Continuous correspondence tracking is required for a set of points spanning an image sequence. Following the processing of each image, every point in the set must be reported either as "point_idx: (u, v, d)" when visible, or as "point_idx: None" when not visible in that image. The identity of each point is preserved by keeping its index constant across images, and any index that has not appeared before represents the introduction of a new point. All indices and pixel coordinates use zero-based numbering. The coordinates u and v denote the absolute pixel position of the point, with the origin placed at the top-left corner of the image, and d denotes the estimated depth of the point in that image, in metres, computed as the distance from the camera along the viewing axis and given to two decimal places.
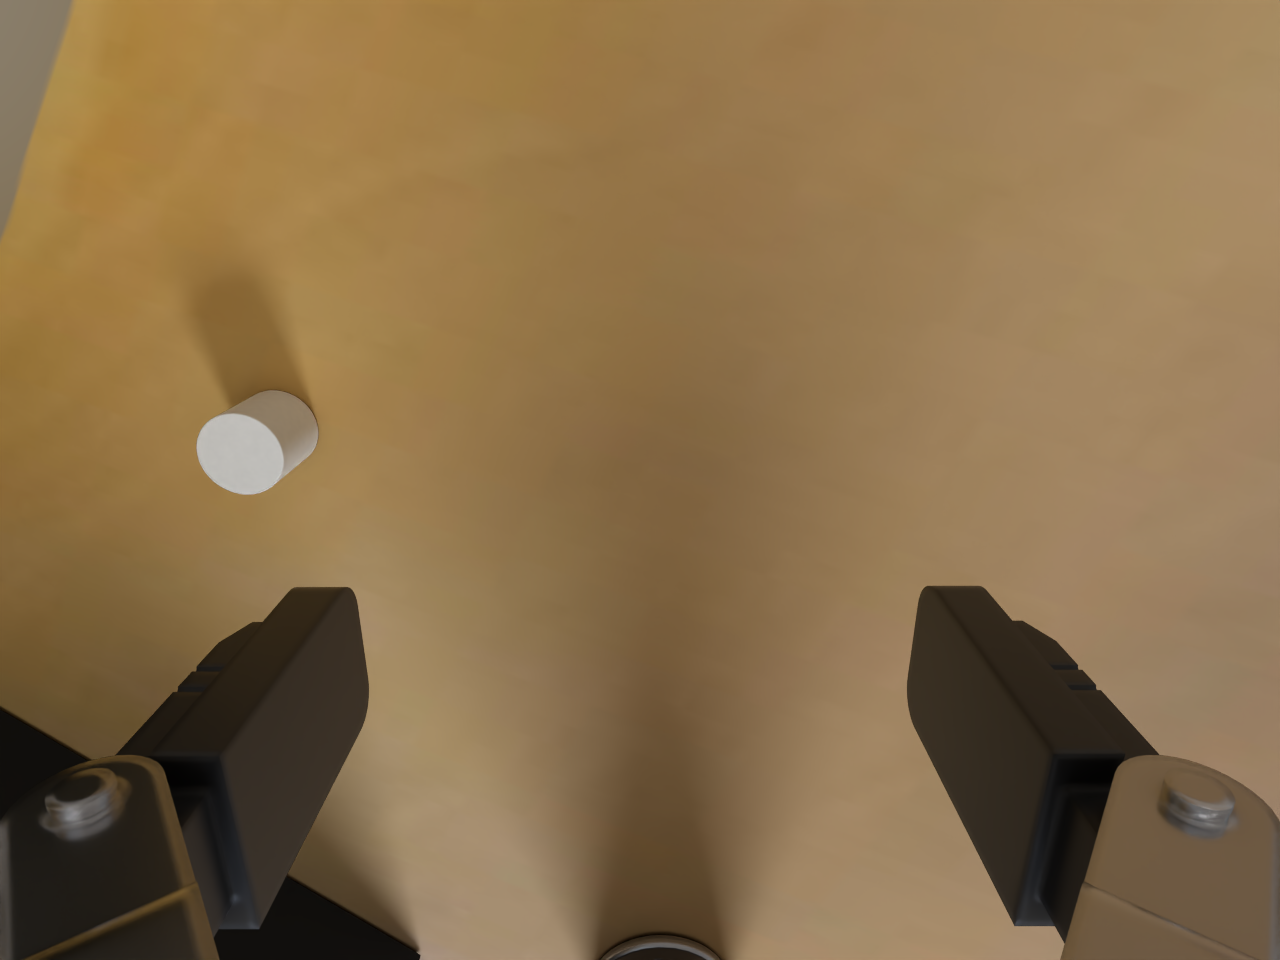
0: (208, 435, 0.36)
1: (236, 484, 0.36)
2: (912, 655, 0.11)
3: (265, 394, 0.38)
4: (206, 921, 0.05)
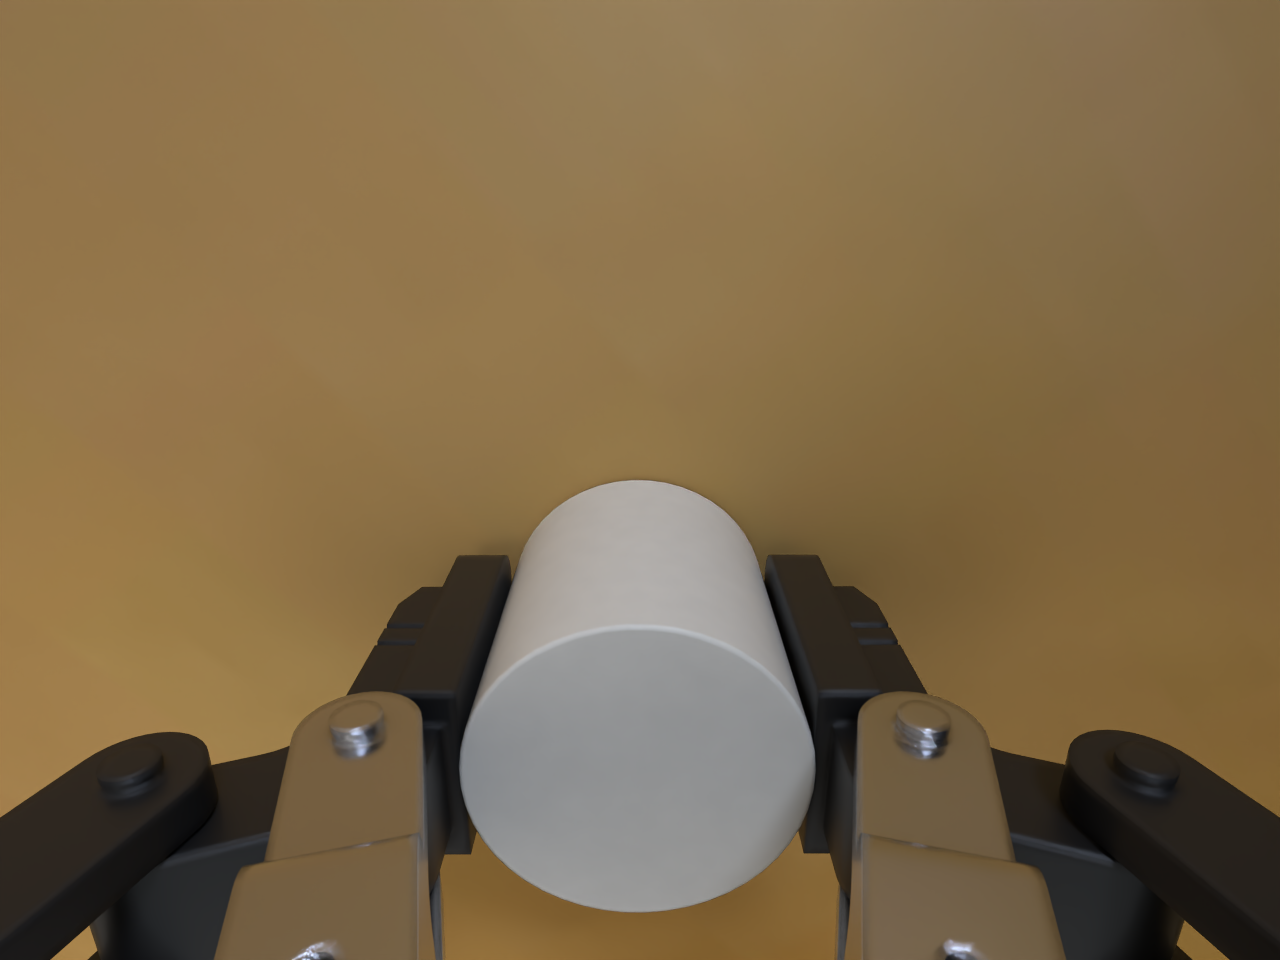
0: (698, 878, 0.09)
1: (733, 697, 0.08)
2: None
3: None
4: (415, 876, 0.05)
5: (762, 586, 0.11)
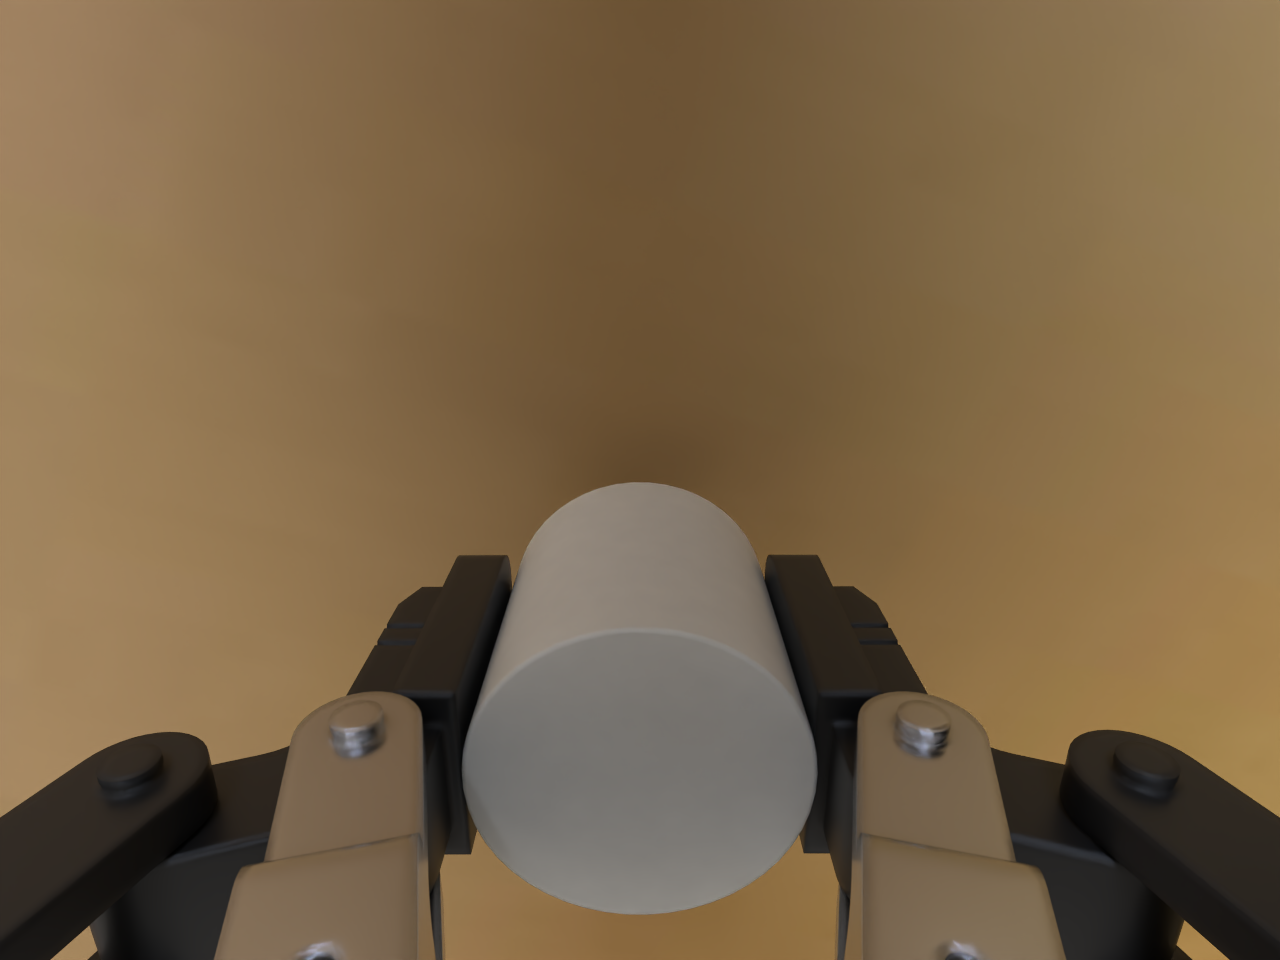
0: (700, 880, 0.09)
1: (735, 700, 0.08)
2: None
3: None
4: (415, 876, 0.05)
5: (764, 588, 0.11)
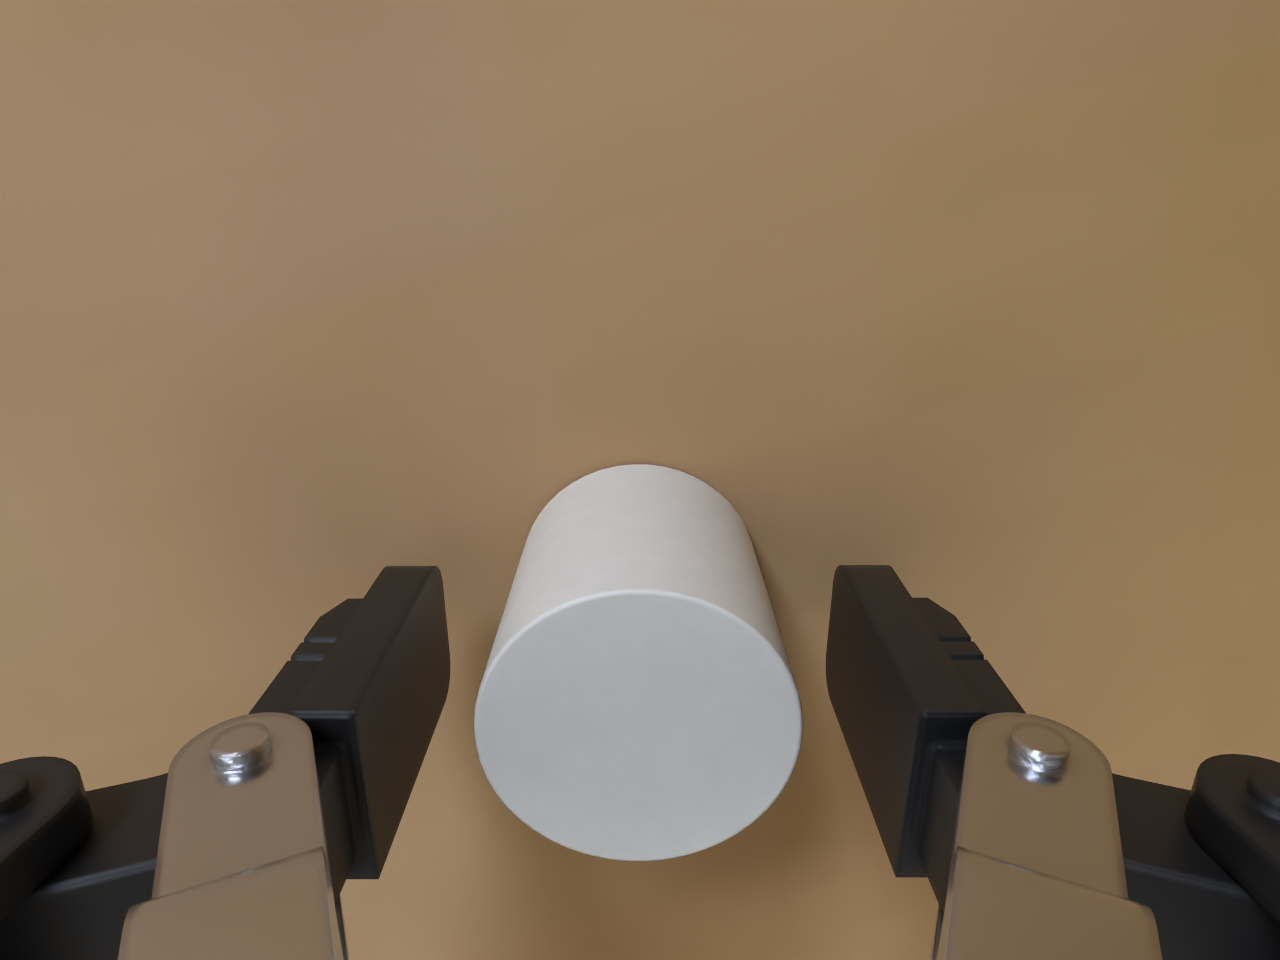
0: (694, 828, 0.10)
1: (726, 657, 0.09)
2: (829, 632, 0.12)
3: None
4: (324, 888, 0.05)
5: (755, 562, 0.12)
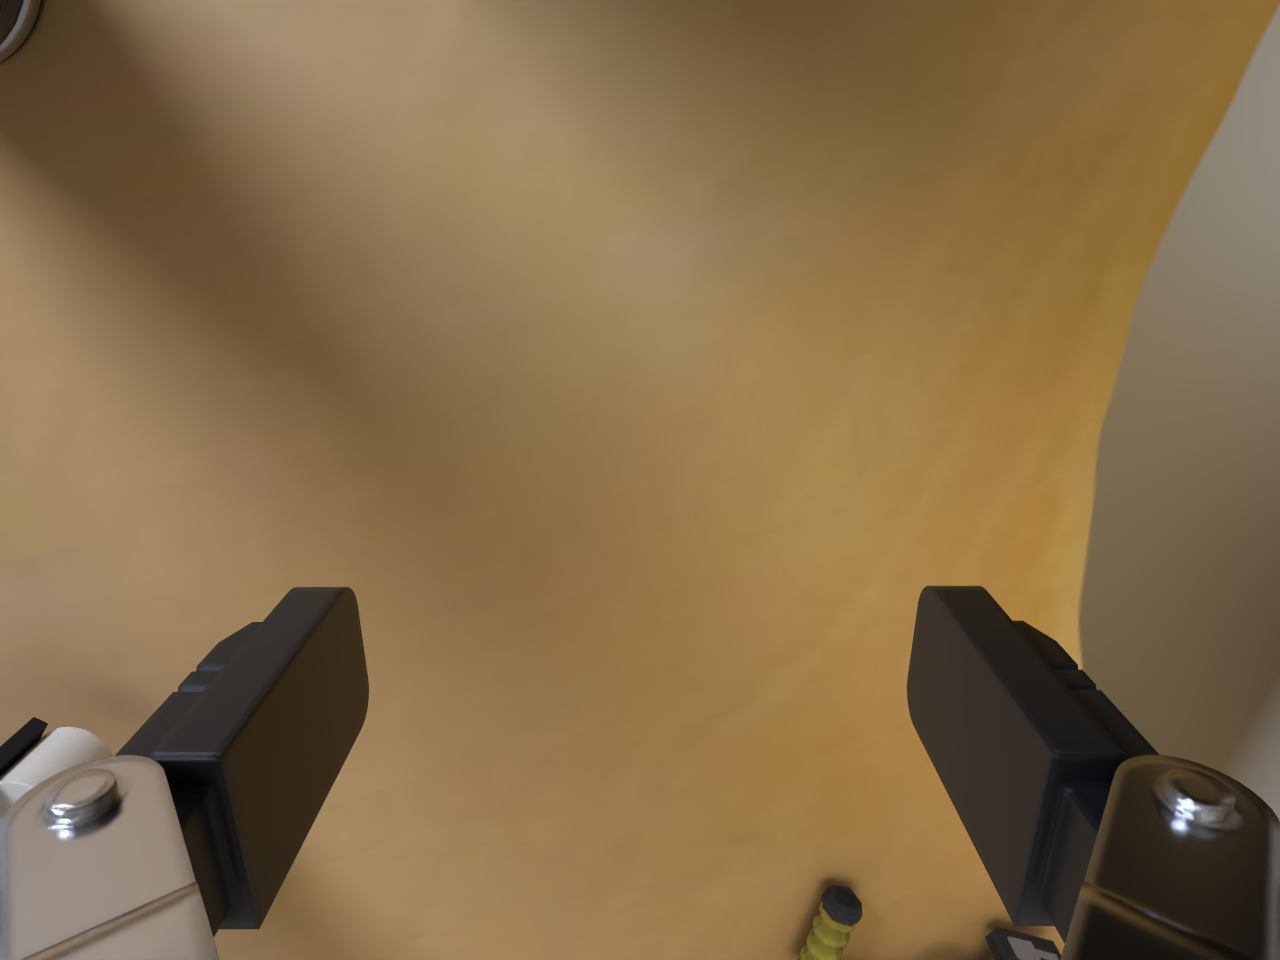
0: None
1: None
2: (912, 655, 0.11)
3: None
4: (206, 921, 0.05)
5: (87, 761, 0.41)
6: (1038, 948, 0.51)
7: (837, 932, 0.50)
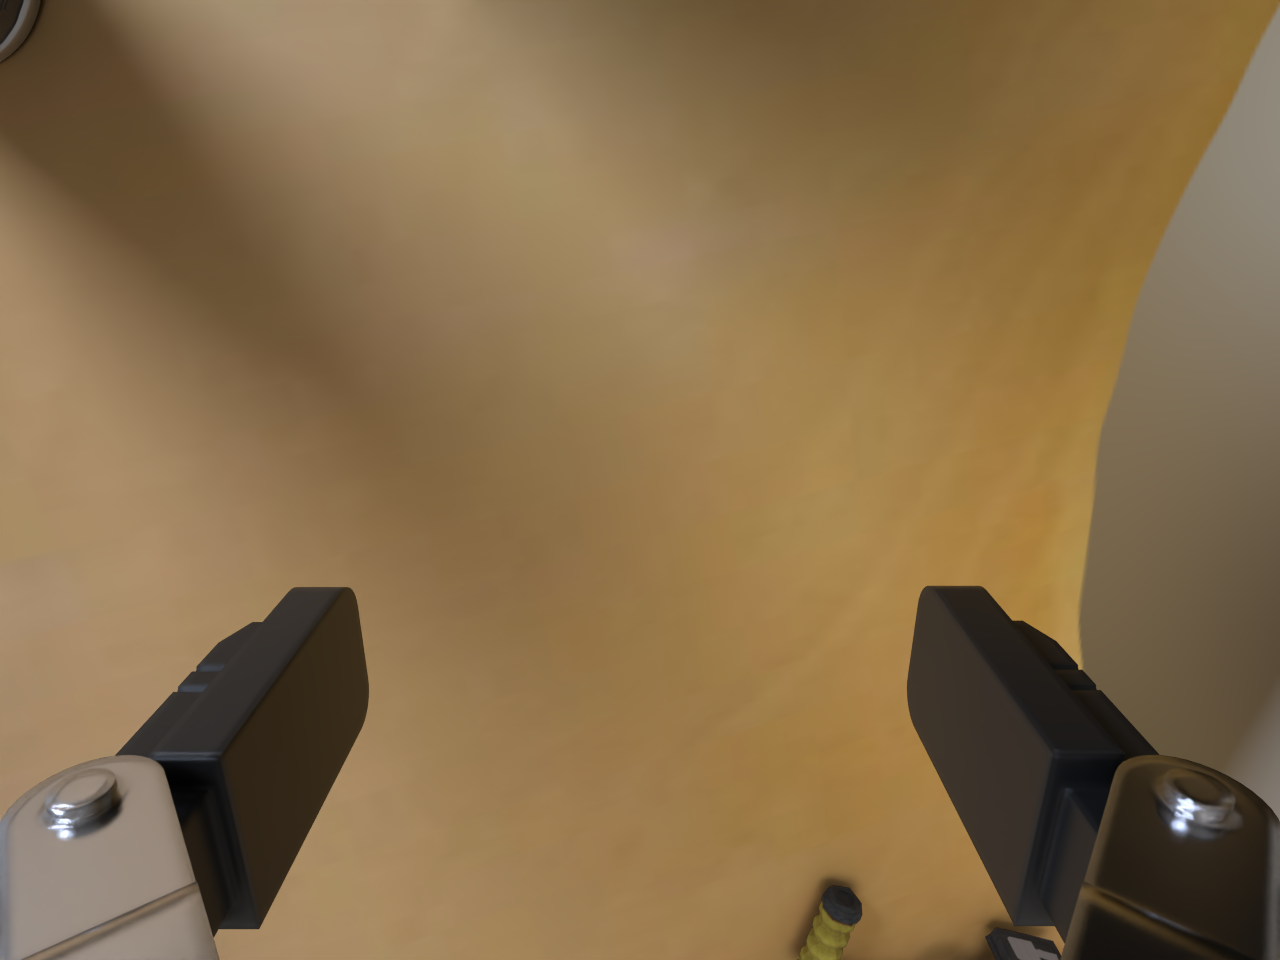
0: None
1: None
2: (912, 655, 0.11)
3: None
4: (206, 921, 0.05)
5: None
6: (1038, 948, 0.51)
7: (837, 932, 0.50)
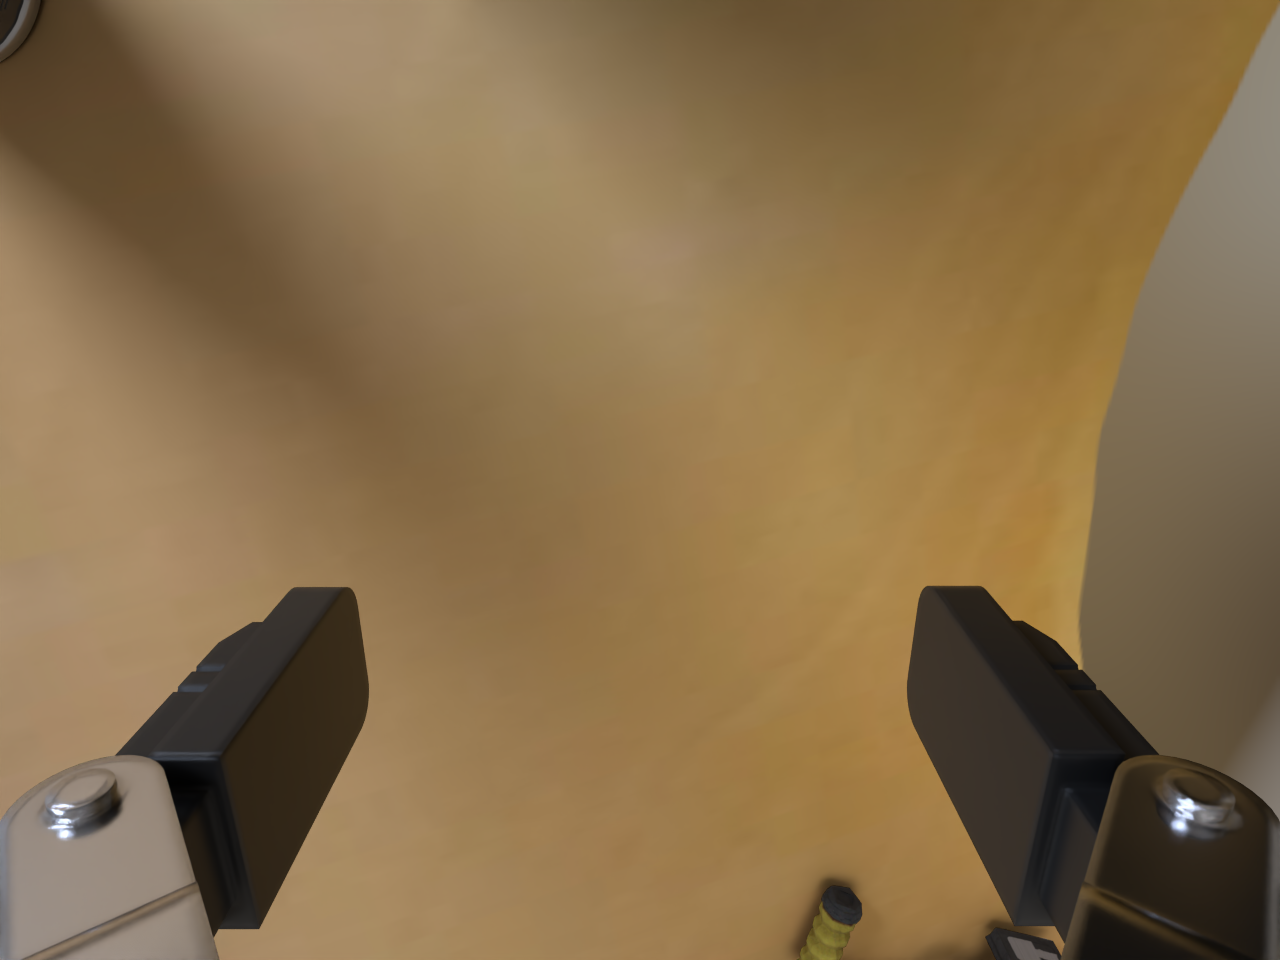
0: None
1: None
2: (912, 655, 0.11)
3: None
4: (206, 921, 0.05)
5: None
6: (1038, 948, 0.51)
7: (837, 932, 0.50)
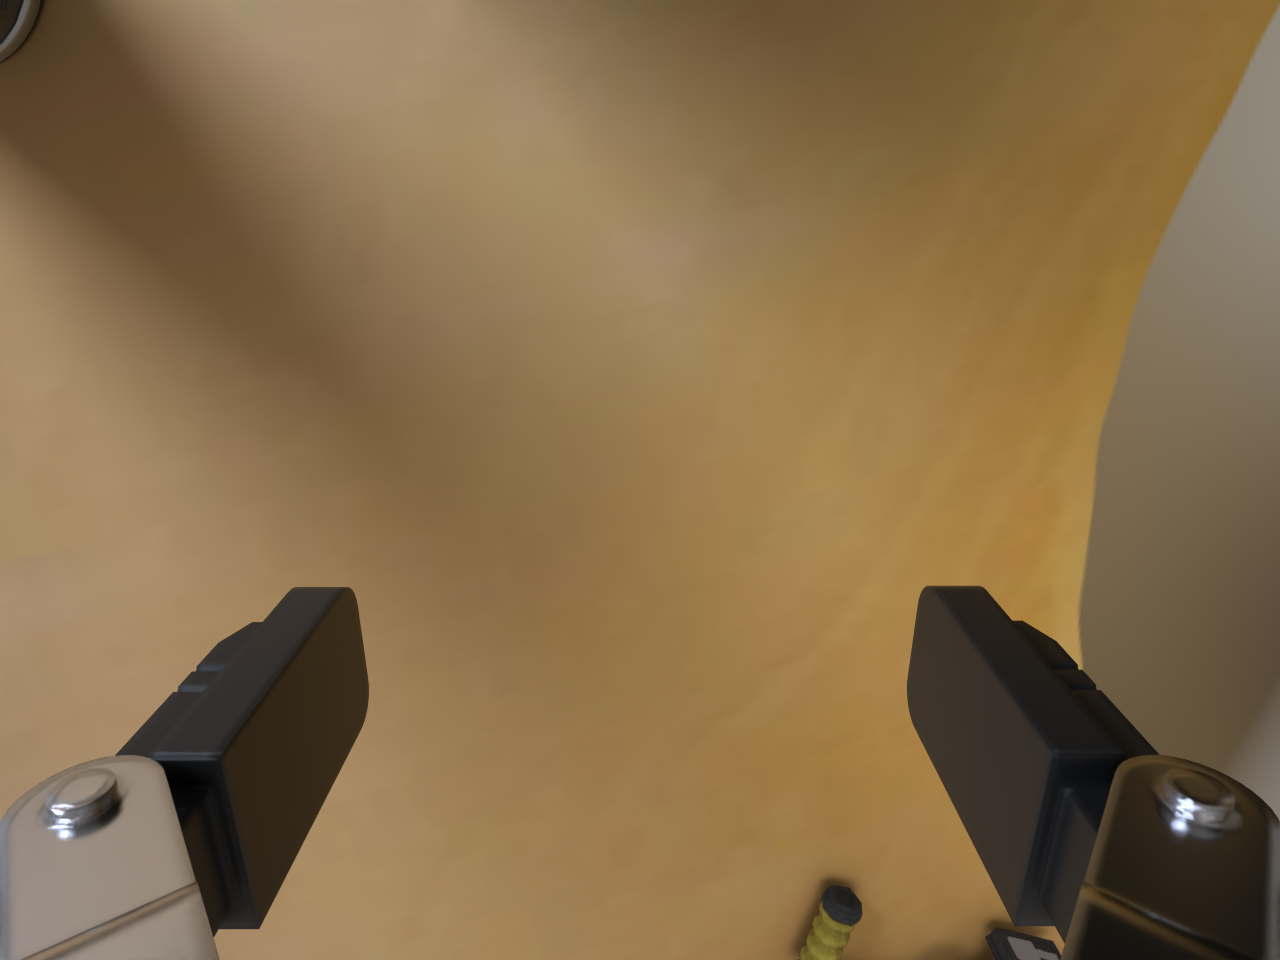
0: None
1: None
2: (912, 655, 0.11)
3: None
4: (206, 921, 0.05)
5: None
6: (1038, 948, 0.51)
7: (837, 932, 0.50)
